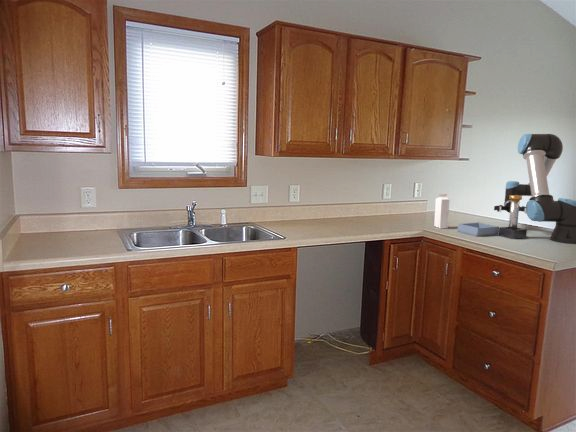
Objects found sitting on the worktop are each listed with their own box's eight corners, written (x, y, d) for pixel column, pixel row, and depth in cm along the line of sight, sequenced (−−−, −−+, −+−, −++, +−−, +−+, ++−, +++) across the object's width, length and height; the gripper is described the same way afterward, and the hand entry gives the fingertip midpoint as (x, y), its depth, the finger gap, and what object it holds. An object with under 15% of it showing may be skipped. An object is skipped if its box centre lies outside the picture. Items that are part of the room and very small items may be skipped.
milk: (447, 228, 270) (450, 194, 267) (439, 229, 268) (442, 194, 265) (441, 227, 276) (443, 193, 272) (433, 227, 274) (435, 193, 270)
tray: (498, 234, 250) (499, 226, 249) (477, 236, 244) (477, 228, 244) (477, 230, 265) (478, 222, 264) (457, 231, 259) (458, 223, 258)
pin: (521, 237, 242) (524, 196, 239) (512, 238, 240) (516, 196, 237) (511, 235, 248) (515, 195, 245) (503, 236, 246) (506, 195, 242)
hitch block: (526, 237, 241) (526, 229, 240) (512, 239, 238) (513, 230, 237) (511, 234, 251) (512, 226, 250) (498, 235, 247) (499, 227, 246)
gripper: (533, 213, 266) (536, 218, 247) (489, 211, 276) (489, 215, 257) (534, 201, 265) (537, 205, 246) (490, 199, 275) (490, 203, 256)
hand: (513, 210), depth 252 cm, fingers open, 13 cm apart
